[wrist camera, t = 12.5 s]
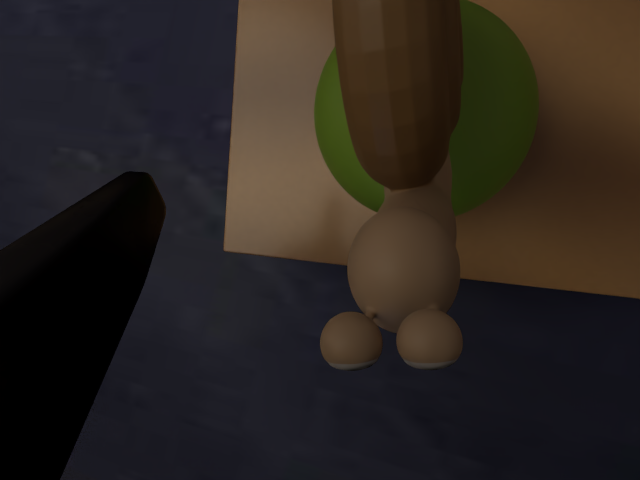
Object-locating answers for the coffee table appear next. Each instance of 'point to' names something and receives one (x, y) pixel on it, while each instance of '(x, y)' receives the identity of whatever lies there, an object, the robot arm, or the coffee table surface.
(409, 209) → the snail figurine
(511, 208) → the tan rectangular block
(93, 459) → the coffee table surface
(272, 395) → the coffee table surface
